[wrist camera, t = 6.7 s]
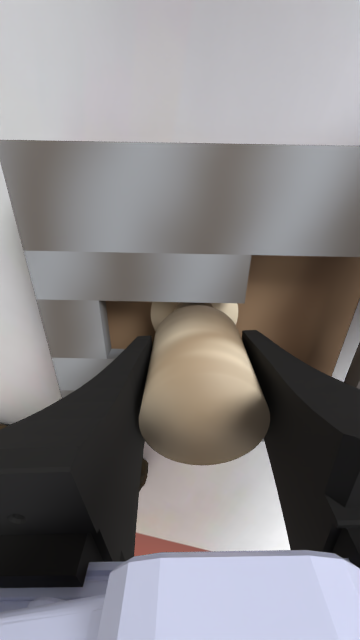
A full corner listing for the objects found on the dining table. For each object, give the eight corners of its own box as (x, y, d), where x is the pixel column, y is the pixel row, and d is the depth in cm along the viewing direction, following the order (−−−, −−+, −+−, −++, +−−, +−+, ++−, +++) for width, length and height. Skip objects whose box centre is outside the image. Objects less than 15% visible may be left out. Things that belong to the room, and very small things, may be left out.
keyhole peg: (233, 261, 14) (296, 350, 6) (233, 335, 17) (280, 470, 9) (147, 270, 15) (104, 366, 7) (159, 342, 17) (138, 477, 9)
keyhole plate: (394, 161, 13) (487, 147, 9) (315, 394, 20) (347, 443, 16) (52, 156, 13) (-6, 139, 9) (94, 389, 20) (72, 437, 16)
